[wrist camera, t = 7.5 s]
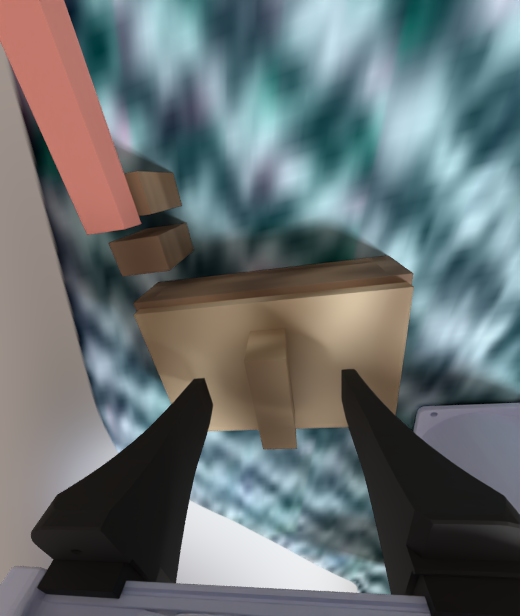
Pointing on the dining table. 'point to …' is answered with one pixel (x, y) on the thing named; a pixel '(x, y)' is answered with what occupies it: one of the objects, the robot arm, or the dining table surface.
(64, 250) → the dining table surface
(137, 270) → the toolbox
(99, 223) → the pink bar
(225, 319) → the lid
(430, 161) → the dining table surface
